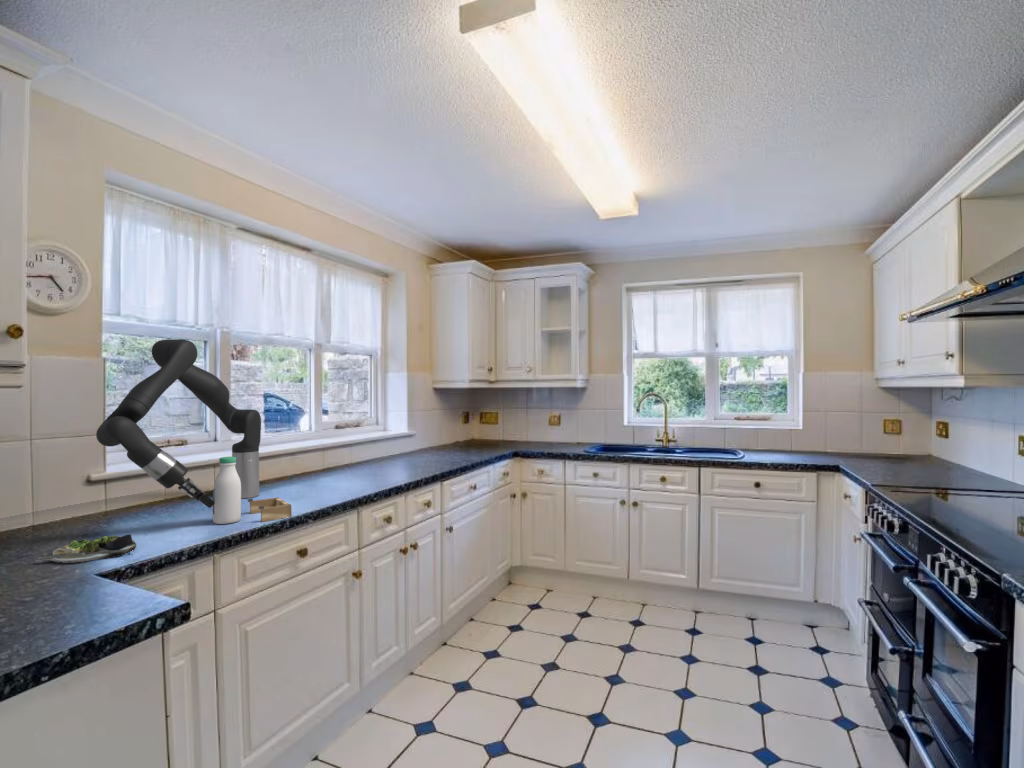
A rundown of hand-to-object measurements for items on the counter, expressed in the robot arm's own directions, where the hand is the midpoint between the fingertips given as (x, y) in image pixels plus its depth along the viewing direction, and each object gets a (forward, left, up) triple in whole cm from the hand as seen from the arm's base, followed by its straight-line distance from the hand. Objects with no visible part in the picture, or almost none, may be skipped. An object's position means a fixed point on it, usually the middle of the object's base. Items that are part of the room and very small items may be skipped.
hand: (212, 505), depth 164 cm
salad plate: (+12, -28, -6) cm, 31 cm away
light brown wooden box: (0, +17, -6) cm, 18 cm away
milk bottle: (0, +4, -6) cm, 7 cm away
